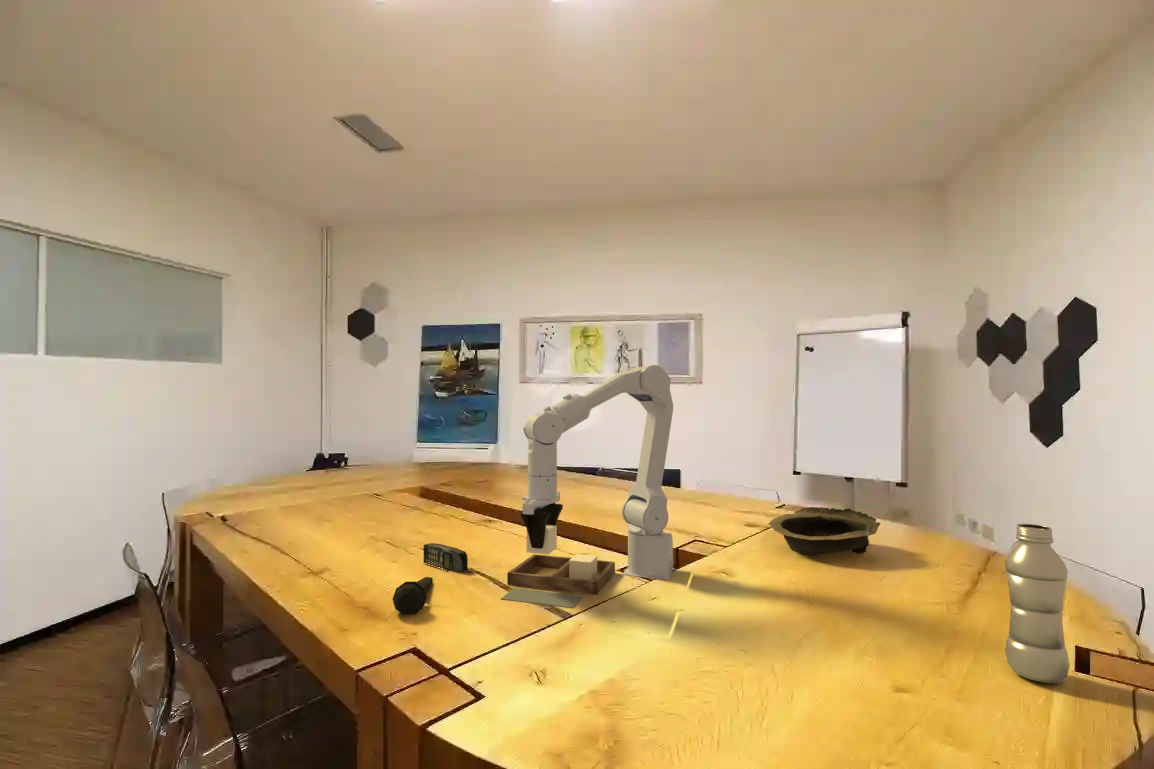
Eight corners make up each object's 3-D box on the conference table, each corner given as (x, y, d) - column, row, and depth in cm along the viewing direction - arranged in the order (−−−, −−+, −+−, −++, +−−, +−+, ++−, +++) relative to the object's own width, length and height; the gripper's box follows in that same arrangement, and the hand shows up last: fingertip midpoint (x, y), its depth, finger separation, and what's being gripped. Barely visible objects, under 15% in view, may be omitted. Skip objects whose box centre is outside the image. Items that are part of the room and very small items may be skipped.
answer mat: (583, 599, 102) (583, 595, 102) (573, 611, 96) (573, 607, 96) (514, 590, 106) (514, 587, 106) (500, 601, 100) (500, 598, 100)
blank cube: (597, 578, 112) (597, 556, 112) (591, 585, 107) (590, 562, 108) (576, 576, 113) (576, 554, 113) (569, 583, 109) (569, 560, 109)
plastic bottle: (993, 667, 76) (990, 521, 76) (1038, 664, 76) (1035, 520, 77) (1035, 691, 69) (1032, 533, 70) (1084, 689, 70) (1081, 532, 70)
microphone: (422, 597, 112) (394, 624, 92) (414, 569, 112) (385, 590, 93) (448, 588, 112) (425, 613, 92) (440, 560, 113) (416, 579, 93)
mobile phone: (420, 543, 123) (464, 553, 114) (431, 540, 126) (475, 550, 116) (421, 565, 123) (464, 577, 114) (432, 562, 126) (475, 573, 116)
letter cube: (556, 548, 109) (556, 525, 109) (548, 554, 104) (548, 530, 104) (535, 546, 110) (535, 523, 110) (526, 552, 106) (526, 528, 106)
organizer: (614, 575, 115) (614, 561, 115) (597, 597, 102) (597, 582, 102) (533, 566, 121) (533, 554, 121) (507, 587, 108) (507, 572, 108)
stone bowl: (883, 545, 138) (883, 508, 137) (876, 581, 117) (876, 538, 116) (781, 531, 151) (780, 497, 151) (758, 561, 130) (757, 522, 129)
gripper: (537, 469, 116) (537, 534, 115) (507, 478, 102) (507, 552, 102) (569, 470, 113) (569, 536, 113) (542, 480, 100) (542, 555, 99)
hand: (542, 544), depth 107 cm, fingers closed on letter cube, 4 cm apart
